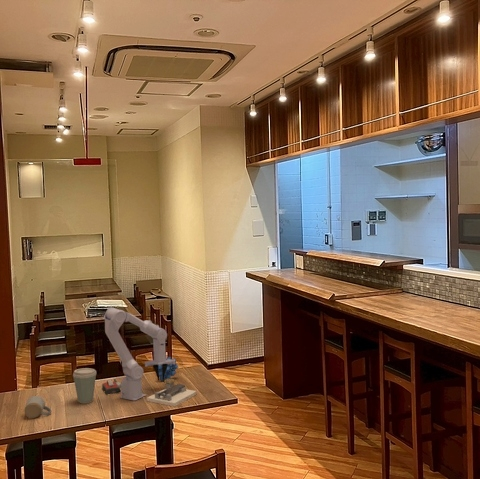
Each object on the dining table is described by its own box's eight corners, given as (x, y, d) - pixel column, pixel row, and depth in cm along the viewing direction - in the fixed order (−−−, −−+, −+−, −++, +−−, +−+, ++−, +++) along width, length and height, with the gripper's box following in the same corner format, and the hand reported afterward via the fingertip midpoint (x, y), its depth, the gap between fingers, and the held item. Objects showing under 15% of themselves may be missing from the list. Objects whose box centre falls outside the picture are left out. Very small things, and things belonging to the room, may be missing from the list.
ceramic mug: (24, 420, 219) (23, 402, 218) (26, 413, 227) (26, 396, 226) (50, 417, 222) (49, 400, 221) (52, 410, 229) (51, 393, 229)
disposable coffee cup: (88, 395, 246) (86, 365, 246) (103, 399, 240) (101, 368, 239) (69, 402, 238) (67, 371, 237) (84, 407, 232) (82, 374, 231)
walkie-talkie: (125, 393, 249) (116, 381, 267) (124, 384, 249) (116, 373, 267) (106, 396, 246) (99, 384, 264) (106, 387, 245) (99, 376, 264)
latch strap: (165, 397, 232) (165, 394, 232) (158, 396, 234) (158, 393, 234) (185, 387, 245) (184, 384, 245) (178, 386, 247) (178, 383, 247)
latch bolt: (164, 382, 247) (164, 380, 247) (168, 380, 250) (168, 378, 250) (171, 383, 245) (170, 381, 245) (174, 381, 248) (174, 379, 248)
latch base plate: (147, 401, 237) (146, 391, 236) (170, 389, 251) (169, 380, 251) (174, 406, 228) (174, 397, 228) (196, 394, 243) (196, 385, 243)
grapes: (175, 376, 272) (174, 353, 272) (179, 379, 266) (178, 356, 265) (154, 379, 267) (153, 356, 267) (157, 383, 261) (156, 360, 261)
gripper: (144, 355, 245) (145, 383, 246) (174, 353, 248) (176, 380, 248) (144, 351, 252) (146, 378, 253) (174, 349, 255) (175, 376, 255)
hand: (160, 379), depth 251 cm, fingers closed
